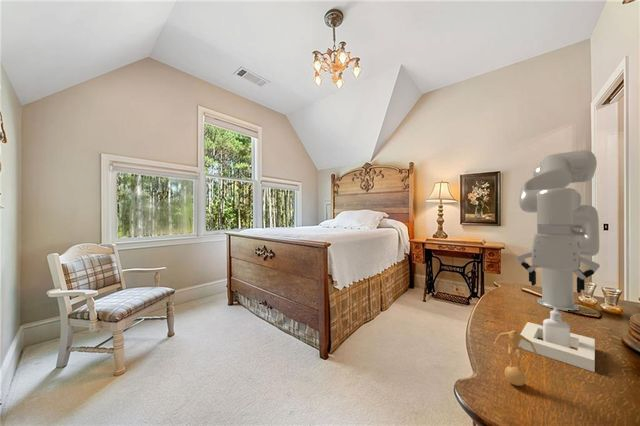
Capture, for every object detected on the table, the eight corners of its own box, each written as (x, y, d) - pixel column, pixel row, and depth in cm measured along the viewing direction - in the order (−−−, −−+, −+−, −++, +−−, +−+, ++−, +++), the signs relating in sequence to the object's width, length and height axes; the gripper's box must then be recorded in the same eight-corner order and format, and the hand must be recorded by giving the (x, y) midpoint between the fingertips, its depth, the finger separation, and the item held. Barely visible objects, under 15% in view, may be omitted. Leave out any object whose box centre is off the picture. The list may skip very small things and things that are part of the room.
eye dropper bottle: (568, 355, 68) (567, 312, 68) (541, 346, 72) (541, 306, 72) (571, 350, 70) (571, 308, 70) (545, 341, 75) (545, 303, 75)
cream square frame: (527, 330, 82) (527, 321, 82) (594, 349, 70) (594, 338, 70) (518, 347, 72) (518, 337, 72) (594, 372, 61) (594, 360, 61)
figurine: (492, 380, 58) (492, 330, 58) (495, 368, 63) (494, 322, 63) (539, 397, 53) (538, 342, 53) (538, 382, 57) (537, 331, 57)
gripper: (599, 230, 67) (599, 291, 67) (519, 228, 80) (520, 279, 80) (599, 233, 62) (600, 299, 62) (514, 230, 75) (515, 284, 75)
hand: (555, 288), depth 71 cm, fingers open, 9 cm apart
